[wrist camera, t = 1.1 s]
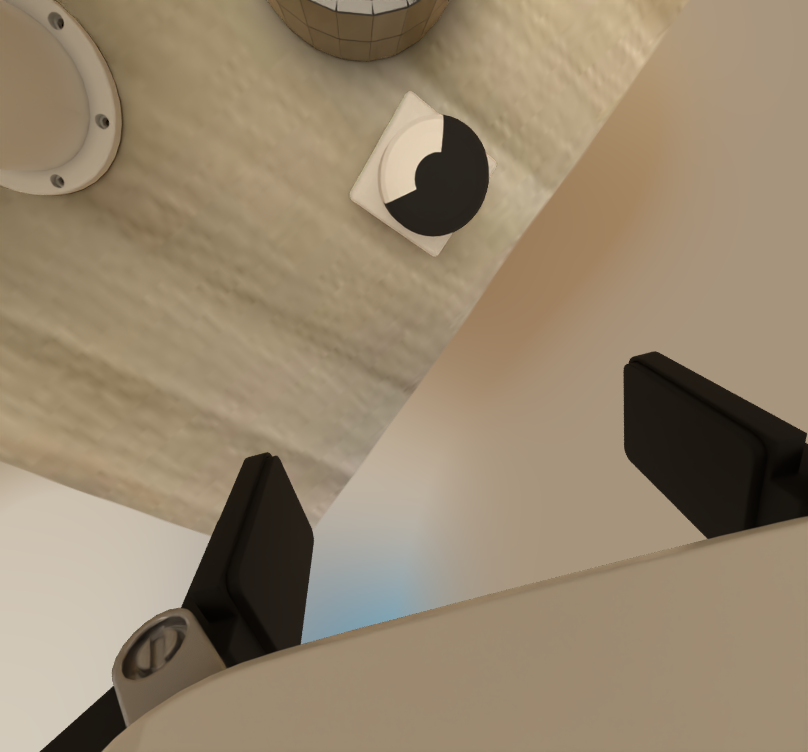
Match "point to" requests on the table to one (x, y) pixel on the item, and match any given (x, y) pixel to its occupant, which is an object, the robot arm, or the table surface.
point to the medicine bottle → (424, 175)
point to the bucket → (360, 24)
